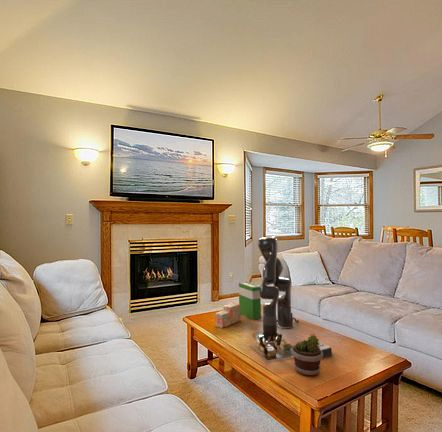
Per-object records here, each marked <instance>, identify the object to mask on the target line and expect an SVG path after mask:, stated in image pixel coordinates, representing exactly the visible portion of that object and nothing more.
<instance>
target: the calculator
mask: <svg viewBox="0 0 442 432" xmlns="http://www.w3.org/2000/svg"><path fill="white" fill-rule="evenodd" d="M301 341H302V342H303V341H304V340H301ZM301 341H298V342H297V343H299V342H300V343H302V342H301ZM318 347H320V350H321V351H322V352H323V354H324V355H323V358H325V357H329V356H332V355H333V350H332V347H331V346H329V345H326V344H324V343H321V342H319V344H318Z"/></svg>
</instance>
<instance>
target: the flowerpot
mask: <svg viewBox="0 0 442 432" xmlns="http://www.w3.org/2000/svg"><path fill="white" fill-rule="evenodd" d="M302 341H303V342H302ZM296 342H297V343H295V345H292V346H293V347H292V348H291V351H290V352H291V354H292V355H293V356H294V357H293V360H294V363H293V367H294V369H295V370H296V372H297V373H298V374H300V375H302V376H304V377H315V376H317V375H318V374H319V373H320V371H321V369H322V368H321V366H320V364H321V361H322V360H323V358H324V357H323V355H324V354H323V352H322V351H321V350H320V347H318V344H319V343H320V339H319V338H318V336H317V335H316V334H315V333H312V334H310V336H308V337H307V339H303V340H300V341H296ZM298 342H299V343H298ZM300 342H302V343H300Z"/></svg>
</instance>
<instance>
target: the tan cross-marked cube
mask: <svg viewBox="0 0 442 432" xmlns="http://www.w3.org/2000/svg"><path fill="white" fill-rule="evenodd" d="M267 351H268V356H275V355H276V349H274V348H273V347H267Z"/></svg>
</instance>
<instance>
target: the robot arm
mask: <svg viewBox="0 0 442 432" xmlns="http://www.w3.org/2000/svg"><path fill="white" fill-rule="evenodd" d="M257 246H258V249H259V252H260V254H261V256H262V257H263V259H264V261H265V263H264V266H263V268H262V280H261V285H260V291H259V295H260V297H261V299H263V300H272V301H269V302H265V303H263V305H262V334H263V335H261V336H258V338H257V340H258V339H259V343H260V346H262V347H264V353H265V354H266V355H268V351H267V346H268V344H269V342H273V345H274V346H273V348H274V349H276V352H277V346H278V345H280V344H281V339H282V338H283V335H282V333H280V332H278V328H280V329H286V330H287V329H291V328H293V327H294V323H293V321H294V322H295V323H299V322H300V320H299V319H296V317H294V316H293V312H292V281H291V278H286V277H285V278H284V277H280V276H281V274H282V273H283V271H284V266H283V264H282V261H281V259H280V258H279V257H278V249H279V248H278V239H277V238H276V237H275V236H269V237H261V238H259V239H258V241H257ZM280 292H282V293H284V294H282V295H280ZM263 337H264V338H265V339H264V344H263ZM276 337H277V341H276Z"/></svg>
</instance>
